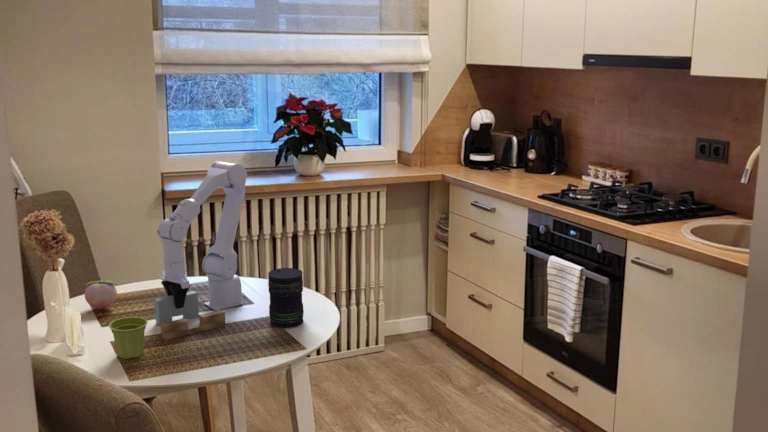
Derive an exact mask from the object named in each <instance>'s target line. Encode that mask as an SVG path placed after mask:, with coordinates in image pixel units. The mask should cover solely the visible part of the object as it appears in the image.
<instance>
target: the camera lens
mask: <svg viewBox="0 0 768 432" xmlns="http://www.w3.org/2000/svg"><path fill="white" fill-rule="evenodd" d="M267 273H268V283H267V284H268V285H267V286H268V293H269V305H268V306H269V307H268V310H269V311H268V312H269V313H268V315H269V316H268V317H269V324H270V326H272V327H274V328H276V329H293V328H297V327H301V326H302V325H303V324H304V311H305V310H304V303H303V289H304V288H303V287H304V282H303V271H302V270H300V269H298V268H292V267H282V268H280V267H279V268H276V269H272V270H270V271H268V272H267Z"/></svg>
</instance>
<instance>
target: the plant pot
mask: <svg viewBox="0 0 768 432" xmlns="http://www.w3.org/2000/svg"><path fill="white" fill-rule="evenodd" d="M147 325H148V320H147V319H146V318H144V317H141V316H125V317H121V318H118V319H117V318H116V319H114V320H113V321H110V323H109V324H108V327H109V329H110V331H111V333H112V334H113V339H114V344H115V348H116V352H117V357H119V359H123V360H129V359H132V358H133V359H136V358H138V357H141V356H142V355H143V352H144V341H145V332H146V331H145V330H146V329H147V327H146V326H147Z"/></svg>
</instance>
